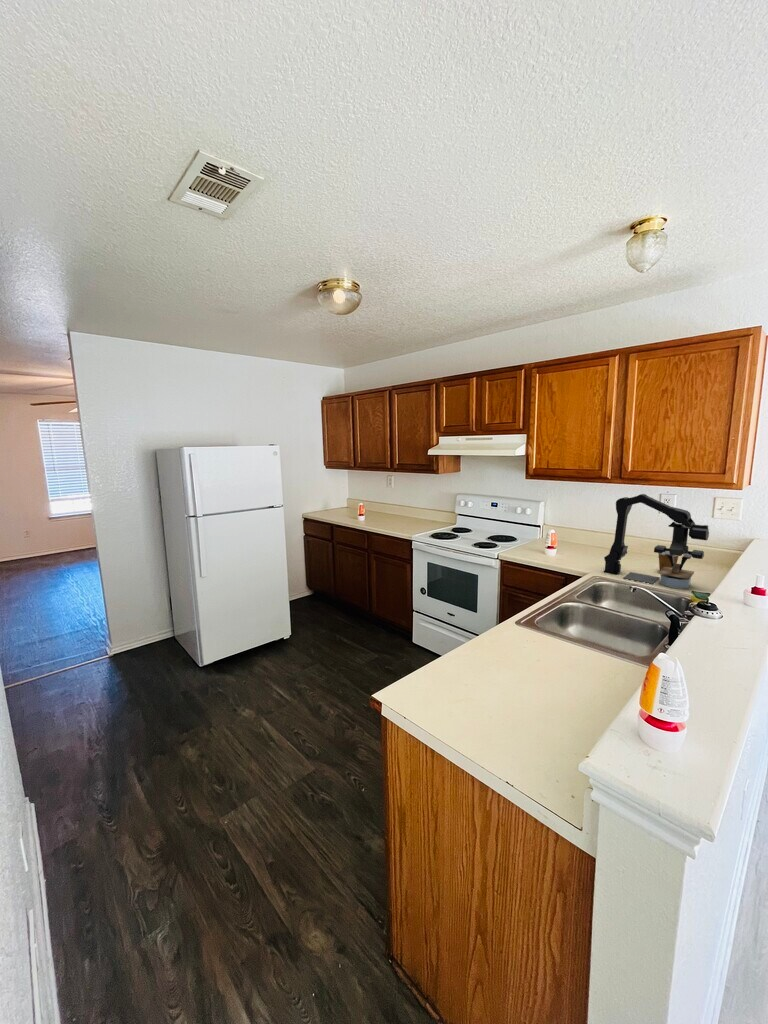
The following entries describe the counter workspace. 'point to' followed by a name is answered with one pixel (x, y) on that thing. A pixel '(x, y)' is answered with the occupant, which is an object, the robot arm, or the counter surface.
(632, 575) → the mat
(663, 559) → the disposable coffee cup
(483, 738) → the counter surface
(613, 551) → the robot arm
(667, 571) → the cover
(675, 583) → the bowl
